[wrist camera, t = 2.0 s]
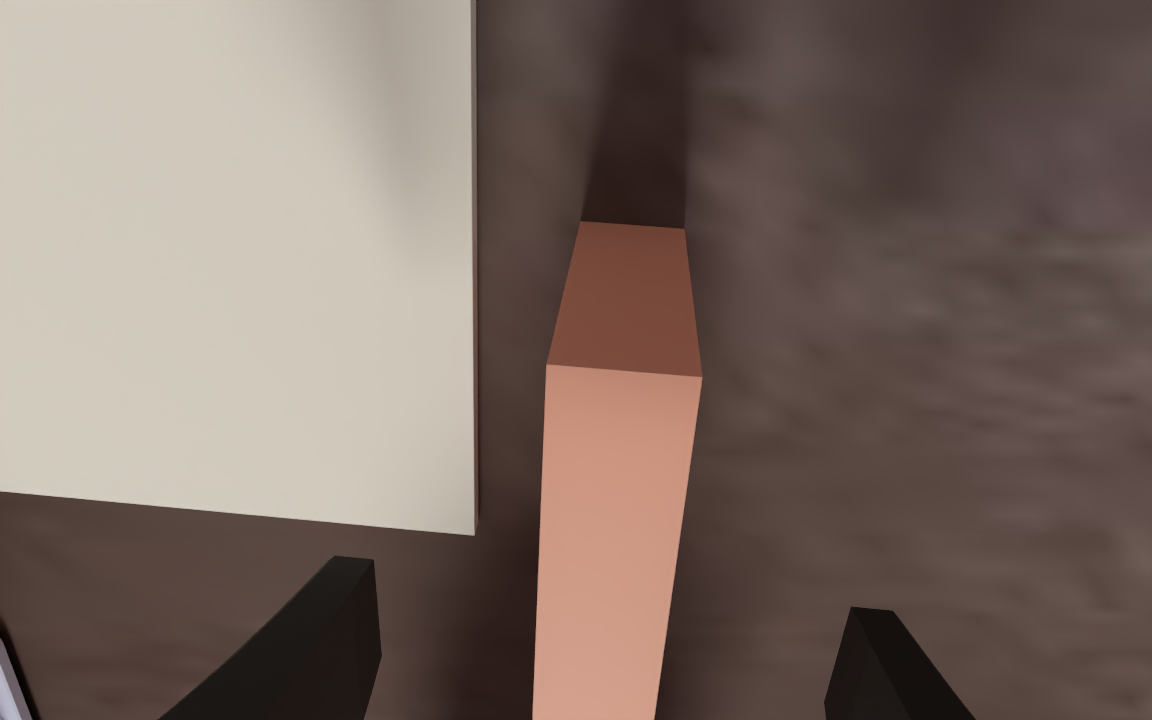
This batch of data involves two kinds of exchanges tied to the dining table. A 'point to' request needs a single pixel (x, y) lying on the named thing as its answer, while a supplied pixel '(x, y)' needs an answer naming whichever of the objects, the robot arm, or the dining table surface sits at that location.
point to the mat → (242, 257)
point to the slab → (614, 471)
